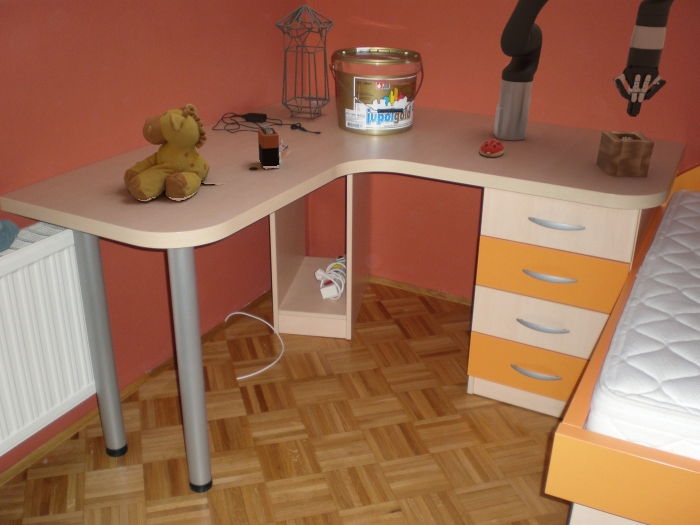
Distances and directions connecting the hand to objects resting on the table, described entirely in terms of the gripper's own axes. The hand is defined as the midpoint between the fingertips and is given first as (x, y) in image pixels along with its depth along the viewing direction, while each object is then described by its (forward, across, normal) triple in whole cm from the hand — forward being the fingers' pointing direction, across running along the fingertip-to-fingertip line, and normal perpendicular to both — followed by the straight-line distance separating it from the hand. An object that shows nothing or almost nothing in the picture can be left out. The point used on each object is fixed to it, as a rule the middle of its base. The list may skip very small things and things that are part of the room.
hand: (632, 115), depth 168 cm
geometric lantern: (+14, +89, -49) cm, 103 cm away
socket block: (+14, 0, 0) cm, 14 cm away
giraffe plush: (+15, +113, +24) cm, 116 cm away
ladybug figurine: (+15, +32, -12) cm, 38 cm away
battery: (+14, +93, +5) cm, 94 cm away
